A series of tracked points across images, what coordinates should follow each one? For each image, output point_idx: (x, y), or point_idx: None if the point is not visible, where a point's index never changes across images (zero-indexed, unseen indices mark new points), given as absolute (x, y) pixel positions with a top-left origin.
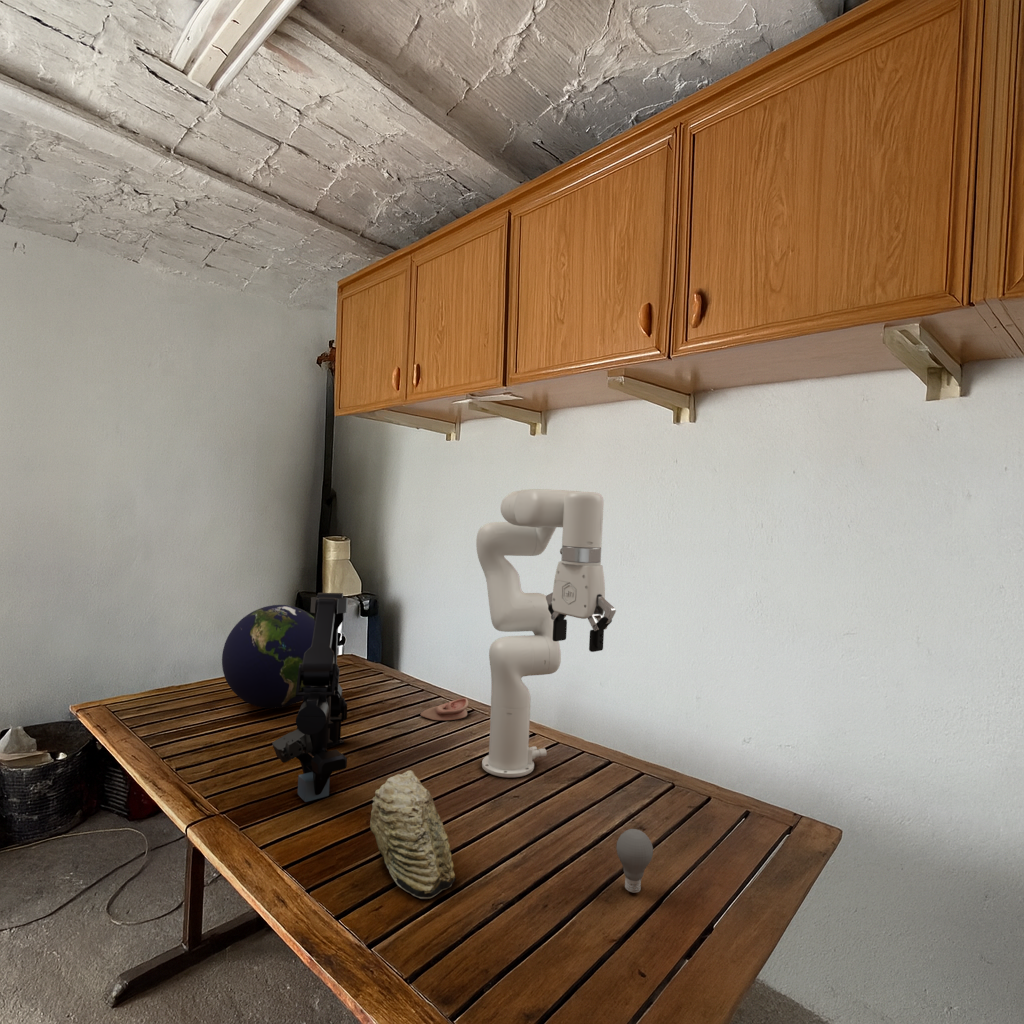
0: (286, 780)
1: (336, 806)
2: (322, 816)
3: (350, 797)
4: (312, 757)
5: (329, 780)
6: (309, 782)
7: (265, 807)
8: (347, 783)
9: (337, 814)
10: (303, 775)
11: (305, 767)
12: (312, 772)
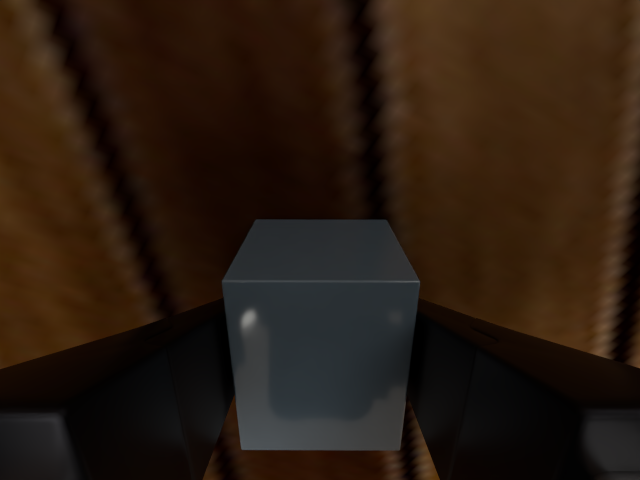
0: (52, 333)
1: (537, 236)
2: (572, 335)
3: (501, 106)
4: (150, 469)
5: (408, 262)
6: (401, 425)
7: (309, 476)
8: (277, 10)
9: (620, 269)
10: (270, 428)
11: (210, 443)
12: (251, 364)
